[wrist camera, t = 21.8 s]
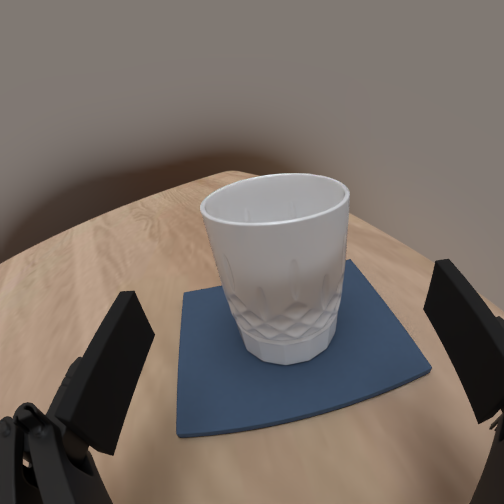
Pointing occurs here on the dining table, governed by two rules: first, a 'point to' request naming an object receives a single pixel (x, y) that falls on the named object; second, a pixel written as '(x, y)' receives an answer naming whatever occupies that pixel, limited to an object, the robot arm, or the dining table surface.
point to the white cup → (281, 260)
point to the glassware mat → (287, 376)
